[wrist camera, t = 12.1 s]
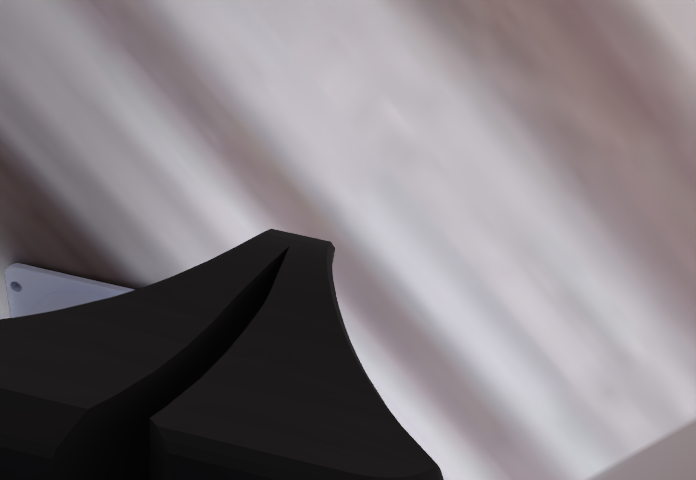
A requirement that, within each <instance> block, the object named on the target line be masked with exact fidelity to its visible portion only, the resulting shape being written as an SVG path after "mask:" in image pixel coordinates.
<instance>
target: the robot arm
mask: <svg viewBox="0 0 696 480" xmlns="http://www.w3.org/2000/svg"><path fill="white" fill-rule="evenodd" d="M334 252H335V247H334V246H333V245H332V243H331V242H329V241H325V240H320V239H316V238H311V237H306V236H302V235H297V234H293V233H288V232H283V231H279V230H274V229H270V230H267V231H265V232H263V233H261V234H259V235H257V236H255V237H254V238H252V239H250V240H248V241H246V242H244V243H242V244H240V245H239V246H237V247H235V248H233V249H231V250H229V251H227V252H225V253H223V254H221V255H219V256H217V257H215V258H213V259H211V260H209V261H207V262H204V263H202V264H200V265H198V266H195V267H193V268H191V269H188V270H186V271H184V272H182V273H179V274H177V275H175V276H173V277H170V278H167V279H165V280H162V281H160V282H157V283H154V284H151V285H149V286H146V287H142V288H139V289H136V290H134V289H130V288H126V287H121V286H117V285H112V284H108V283H104V282H99V281H95V280H90V279H86V278H82V277H77V276H73V275H68V274H64V273H60V272H55V271H51V270H46V269H42V268H38V267H33V266H29V265H24V264H20V263H14V264H12V265H10V266H9V267H7V268H6V270H5V280H6V287H7V294H8V301H9V308H10V315H11V318H8V319H1V320H0V480H443V476H442V473H441V470H440V468H439V466H438V465H437V464H436V463H435V462H434V461H433V459H432V458H431V457H430V456H429V455H428V454H427V453H426V452H425V451H424V450H423V449H422V448H421V446H420V445H419V444H418V443H417V442H416V441H415V440H414V439H413V438H412V437H411V436H410V435H409V434H408V432H407V431H406V430H405V429H404V428H403V427H402V426H401V425H400V423H399V422H398V421H397V420H396V418H395V417H394V416H393V414H392V413H391V412H390V410H389V409H388V408H387V406H386V404H385V403H384V401H383V400H382V398H381V396H380V395H379V393H378V392H377V390H376V389H375V387H374V385H373V384H372V382H371V381H370V379H369V377H368V376H367V374H366V372H365V370H364V369H363V367H362V365H361V363H360V361H359V359H358V357H357V355H356V352H355V350H354V348H353V346H352V343H351V341H350V339H349V336H348V334H347V331H346V328H345V325H344V322H343V319H342V316H341V313H340V309H339V306H338V302H337V297H336V292H335V287H334V282H333V274H332V263H333V257H334ZM18 283H19V284H20V285H21V286H19V285H18Z"/></svg>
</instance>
